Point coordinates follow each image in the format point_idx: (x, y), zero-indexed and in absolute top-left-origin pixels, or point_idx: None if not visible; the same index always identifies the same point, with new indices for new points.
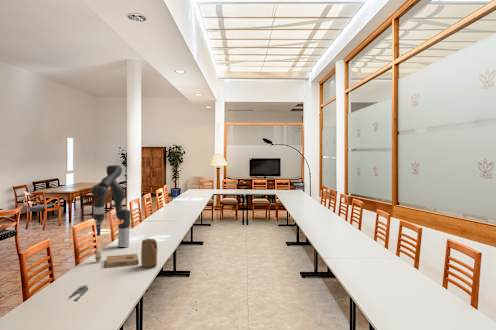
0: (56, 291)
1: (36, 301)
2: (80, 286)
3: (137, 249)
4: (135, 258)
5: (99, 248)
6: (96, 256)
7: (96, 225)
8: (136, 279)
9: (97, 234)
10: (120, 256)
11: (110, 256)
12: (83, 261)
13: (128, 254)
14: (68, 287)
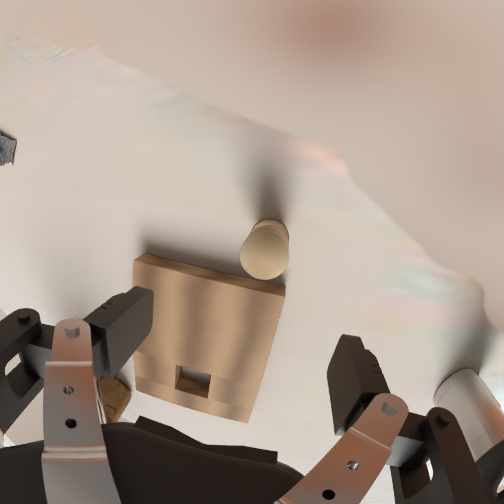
0: (23, 78)
1: (8, 54)
2: (11, 140)
3: None
4: (169, 394)
5: (278, 269)
6: (254, 227)
7: (47, 408)
8: (23, 306)
9: (112, 299)
10: (237, 358)
11: (269, 314)
12: (337, 153)
13: (255, 396)
14: (26, 104)
